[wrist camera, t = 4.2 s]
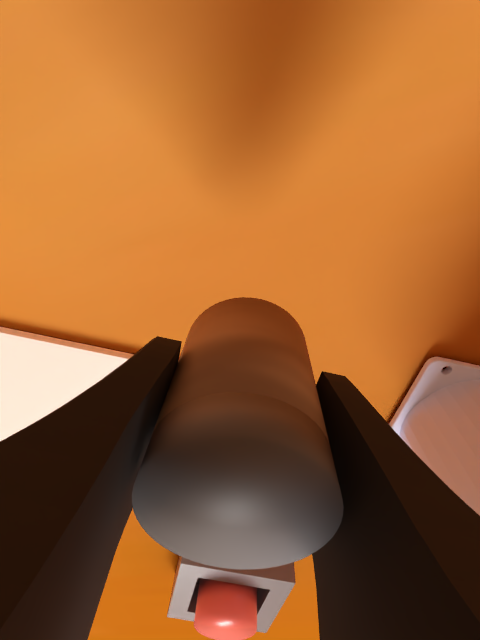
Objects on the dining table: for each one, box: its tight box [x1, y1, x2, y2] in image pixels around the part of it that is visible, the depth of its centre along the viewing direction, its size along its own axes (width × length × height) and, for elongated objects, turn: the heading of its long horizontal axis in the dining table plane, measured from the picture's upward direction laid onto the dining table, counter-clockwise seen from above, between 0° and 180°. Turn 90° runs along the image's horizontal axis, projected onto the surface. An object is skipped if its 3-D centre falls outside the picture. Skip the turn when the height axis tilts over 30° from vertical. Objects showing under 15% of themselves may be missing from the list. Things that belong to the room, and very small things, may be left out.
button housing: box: [167, 556, 295, 633], centre depth 26 cm, size 8×8×3 cm
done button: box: [194, 578, 257, 640], centre depth 25 cm, size 4×4×2 cm
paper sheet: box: [0, 327, 134, 441], centre depth 21 cm, size 14×12×1 cm
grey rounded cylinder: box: [132, 297, 344, 570], centre depth 8 cm, size 4×4×5 cm
